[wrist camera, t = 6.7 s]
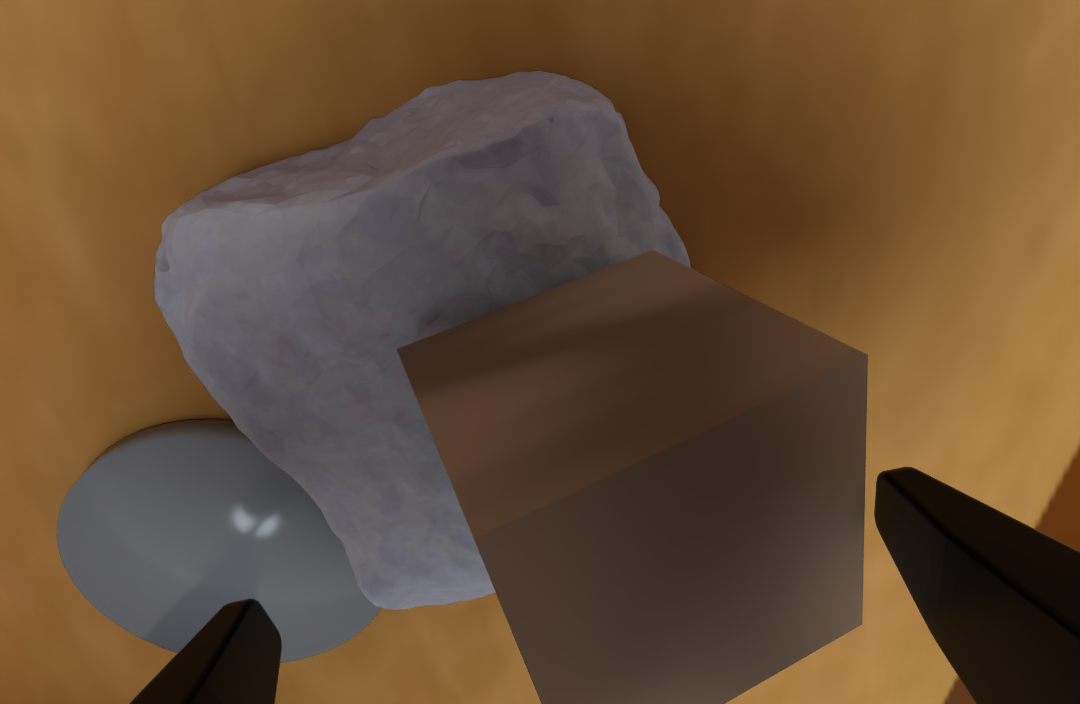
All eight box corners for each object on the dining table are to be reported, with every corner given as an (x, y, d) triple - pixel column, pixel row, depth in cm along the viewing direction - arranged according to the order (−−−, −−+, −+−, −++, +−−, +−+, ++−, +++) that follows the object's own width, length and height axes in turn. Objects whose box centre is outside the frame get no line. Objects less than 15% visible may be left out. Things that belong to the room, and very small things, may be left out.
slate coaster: (173, 663, 21) (162, 686, 20) (4, 459, 17) (-19, 479, 16) (433, 612, 20) (430, 633, 20) (328, 387, 16) (321, 404, 15)
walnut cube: (479, 552, 13) (576, 788, 9) (396, 349, 11) (474, 538, 6) (685, 455, 14) (862, 623, 10) (652, 249, 12) (867, 354, 7)
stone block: (567, 18, 14) (147, 196, 13) (658, 15, 10) (58, 271, 9) (680, 411, 20) (394, 546, 20) (765, 511, 16) (405, 684, 15)
